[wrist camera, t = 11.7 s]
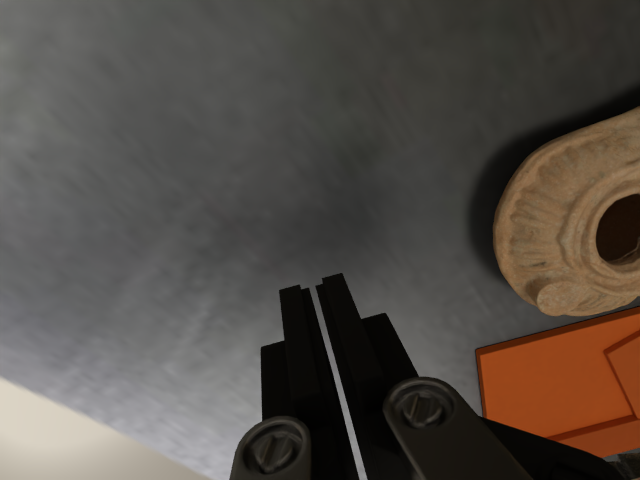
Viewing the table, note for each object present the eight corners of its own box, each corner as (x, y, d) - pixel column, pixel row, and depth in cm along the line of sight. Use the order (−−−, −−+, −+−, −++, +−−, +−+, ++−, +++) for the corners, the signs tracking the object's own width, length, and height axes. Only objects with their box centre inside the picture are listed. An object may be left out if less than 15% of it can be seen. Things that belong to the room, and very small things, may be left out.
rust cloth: (490, 472, 29) (498, 487, 28) (475, 349, 25) (484, 361, 24) (681, 422, 29) (696, 435, 28) (695, 291, 25) (713, 300, 24)
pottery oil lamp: (747, 129, 21) (876, 242, 17) (509, 243, 27) (558, 351, 22) (737, -18, 16) (924, 91, 11) (441, 163, 21) (488, 284, 17)
